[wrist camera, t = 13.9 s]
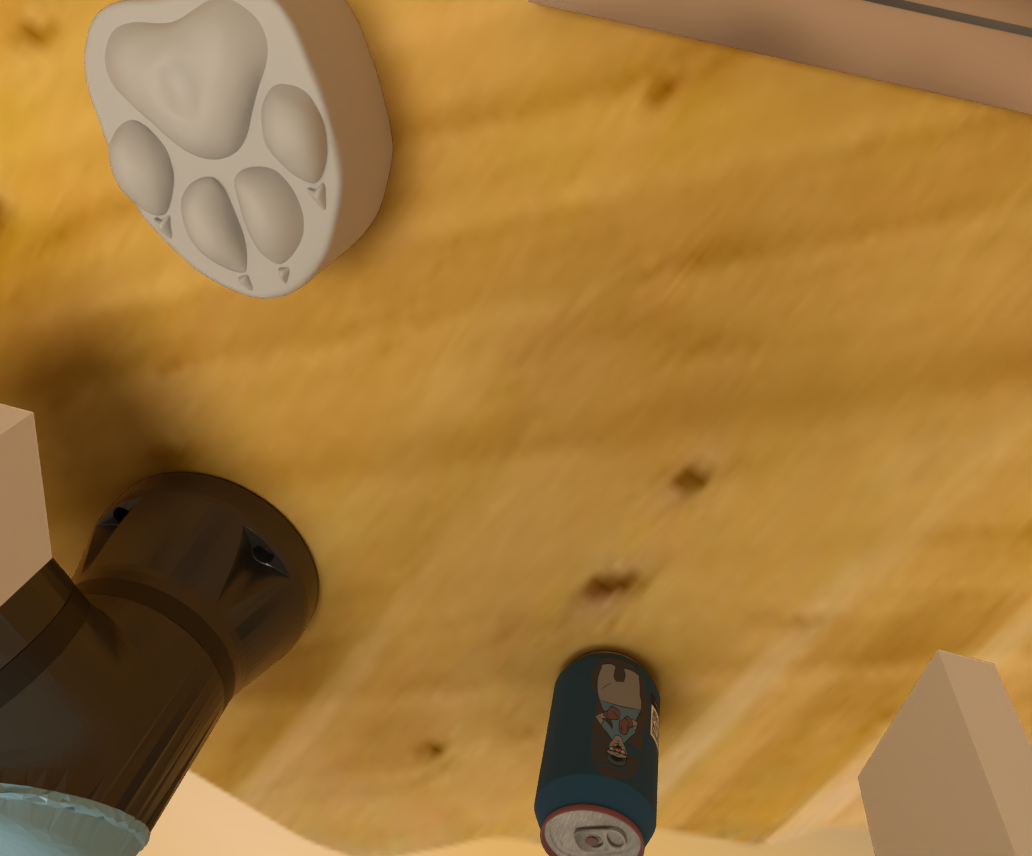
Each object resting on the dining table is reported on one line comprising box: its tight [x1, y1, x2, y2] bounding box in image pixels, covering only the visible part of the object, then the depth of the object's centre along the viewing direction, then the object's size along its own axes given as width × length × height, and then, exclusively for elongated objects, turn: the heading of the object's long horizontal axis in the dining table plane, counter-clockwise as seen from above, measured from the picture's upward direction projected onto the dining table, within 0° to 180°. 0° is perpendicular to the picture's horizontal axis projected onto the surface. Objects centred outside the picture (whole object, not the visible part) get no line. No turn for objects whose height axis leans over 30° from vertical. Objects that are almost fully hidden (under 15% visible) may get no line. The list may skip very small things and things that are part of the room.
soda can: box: [534, 651, 660, 856], centre depth 50 cm, size 7×7×12 cm
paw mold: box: [85, 0, 393, 299], centre depth 38 cm, size 10×13×9 cm
